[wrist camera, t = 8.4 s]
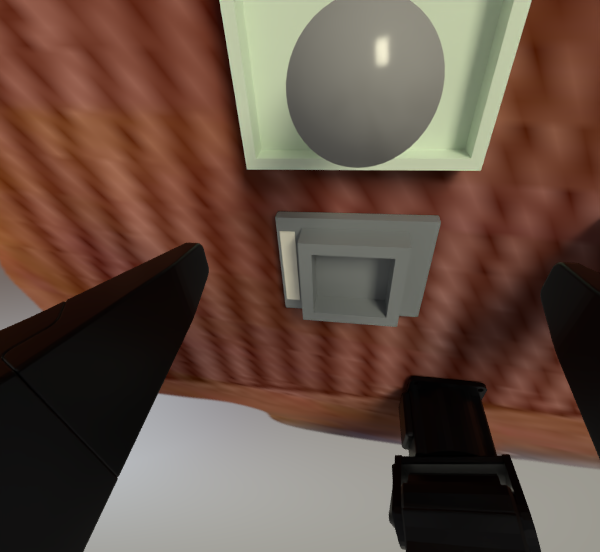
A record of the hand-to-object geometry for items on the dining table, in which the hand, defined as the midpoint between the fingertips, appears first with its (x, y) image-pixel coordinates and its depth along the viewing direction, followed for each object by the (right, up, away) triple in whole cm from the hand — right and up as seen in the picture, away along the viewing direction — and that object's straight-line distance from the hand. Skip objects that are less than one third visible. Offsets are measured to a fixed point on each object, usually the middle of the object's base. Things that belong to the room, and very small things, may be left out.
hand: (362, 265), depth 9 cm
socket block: (+2, +1, +14) cm, 15 cm away
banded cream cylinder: (+1, +10, +6) cm, 12 cm away
